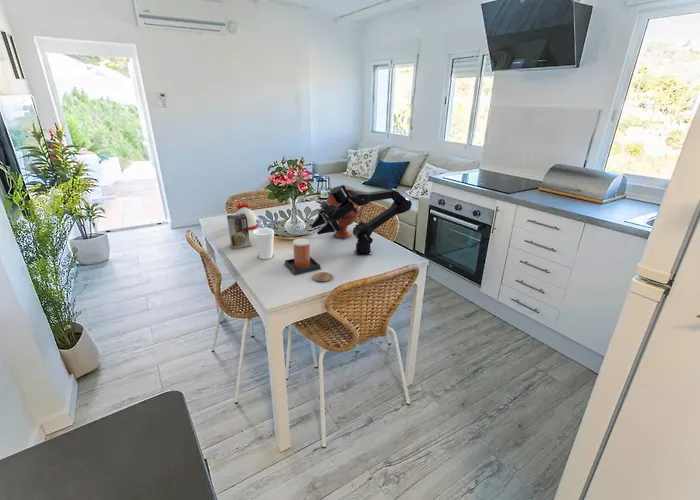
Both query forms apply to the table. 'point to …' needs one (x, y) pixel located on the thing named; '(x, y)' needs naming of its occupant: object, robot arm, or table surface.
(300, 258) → the canister
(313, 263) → the tray
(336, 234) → the terracotta vase
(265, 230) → the foam cup
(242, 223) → the coffee box
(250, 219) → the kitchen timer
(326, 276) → the coaster
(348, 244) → the table surface
